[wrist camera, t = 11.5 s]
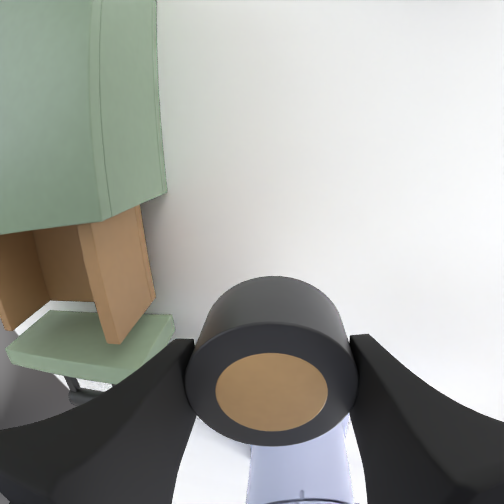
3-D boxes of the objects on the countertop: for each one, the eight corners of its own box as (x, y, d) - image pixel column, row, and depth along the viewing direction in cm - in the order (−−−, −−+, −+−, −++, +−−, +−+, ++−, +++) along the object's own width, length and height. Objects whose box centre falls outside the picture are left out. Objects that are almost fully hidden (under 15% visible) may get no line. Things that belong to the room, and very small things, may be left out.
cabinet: (168, 192, 18) (102, 222, 11) (28, 212, 19) (-47, 242, 12) (157, -12, 14) (102, -71, 7) (21, 43, 15) (-49, 27, 8)
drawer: (188, 382, 21) (165, 442, 16) (72, 369, 22) (37, 413, 17) (145, 126, 16) (89, 120, 10) (19, 160, 17) (-42, 171, 11)
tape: (337, 387, 12) (348, 443, 9) (213, 389, 12) (199, 444, 9) (346, 271, 10) (370, 317, 7) (196, 277, 11) (168, 322, 8)
